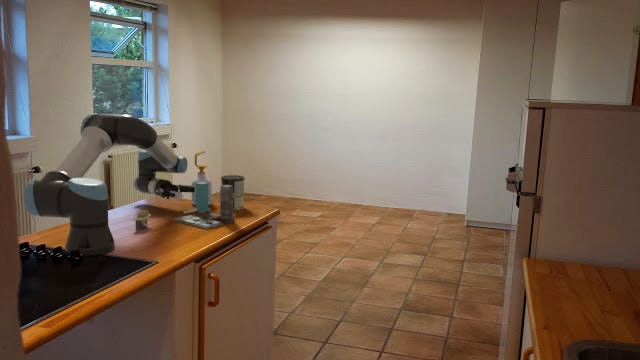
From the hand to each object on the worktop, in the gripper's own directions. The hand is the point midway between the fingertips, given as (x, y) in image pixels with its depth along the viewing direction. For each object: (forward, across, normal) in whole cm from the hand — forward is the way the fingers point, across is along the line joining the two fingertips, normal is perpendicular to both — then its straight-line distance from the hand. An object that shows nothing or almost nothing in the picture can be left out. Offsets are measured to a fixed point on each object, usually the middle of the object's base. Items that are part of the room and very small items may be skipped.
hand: (193, 194), depth 240 cm
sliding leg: (+6, +4, -6) cm, 10 cm away
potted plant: (+3, +28, -9) cm, 30 cm away
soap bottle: (-13, -16, -9) cm, 23 cm away
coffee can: (+3, -20, -9) cm, 22 cm away
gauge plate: (+13, +10, -9) cm, 19 cm away
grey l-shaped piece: (+13, +4, -9) cm, 16 cm away
